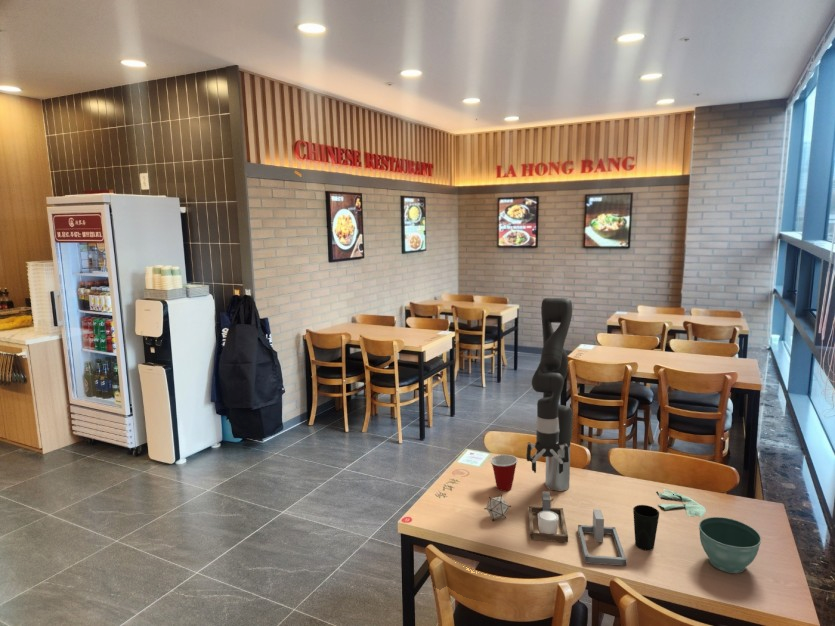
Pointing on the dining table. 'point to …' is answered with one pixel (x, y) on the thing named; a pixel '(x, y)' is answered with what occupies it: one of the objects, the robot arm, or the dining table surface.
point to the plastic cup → (504, 471)
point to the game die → (497, 507)
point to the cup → (645, 526)
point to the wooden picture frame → (547, 507)
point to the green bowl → (729, 543)
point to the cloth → (690, 509)
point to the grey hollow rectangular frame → (598, 533)
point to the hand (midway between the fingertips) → (547, 472)
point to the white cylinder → (548, 522)
